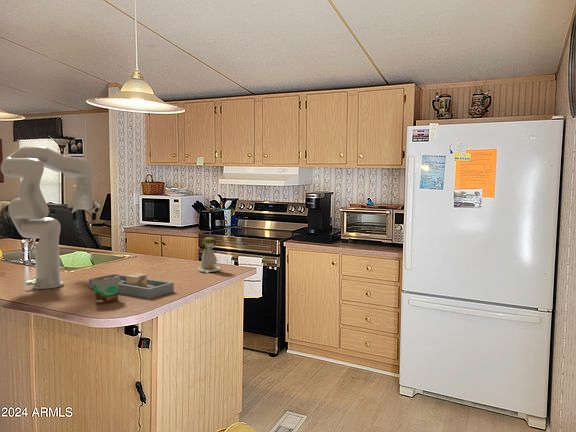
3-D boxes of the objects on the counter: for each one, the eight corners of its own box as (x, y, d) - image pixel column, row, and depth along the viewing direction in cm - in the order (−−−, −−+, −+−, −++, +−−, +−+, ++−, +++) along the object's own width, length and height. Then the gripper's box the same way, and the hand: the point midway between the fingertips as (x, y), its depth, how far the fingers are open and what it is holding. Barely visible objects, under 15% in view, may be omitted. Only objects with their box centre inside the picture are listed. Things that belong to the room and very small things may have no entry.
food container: (105, 306, 172) (104, 280, 171) (92, 304, 174) (92, 279, 174) (127, 298, 184) (127, 274, 183) (115, 297, 186) (115, 273, 185)
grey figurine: (196, 273, 236) (195, 238, 235) (200, 268, 249) (200, 235, 248) (218, 273, 236) (218, 238, 235) (222, 268, 249) (222, 235, 248)
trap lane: (149, 298, 184) (149, 289, 183) (88, 287, 202) (88, 279, 202) (173, 291, 196) (173, 282, 196) (114, 282, 214) (114, 273, 214)
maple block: (136, 288, 193) (136, 277, 192) (126, 286, 196) (126, 275, 195) (146, 285, 198) (146, 274, 198) (137, 284, 201) (137, 273, 201)
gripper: (63, 187, 229) (64, 220, 230) (97, 187, 230) (98, 221, 231) (70, 187, 237) (71, 220, 238) (103, 188, 237) (104, 220, 238)
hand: (84, 220), depth 234 cm, fingers open, 9 cm apart
